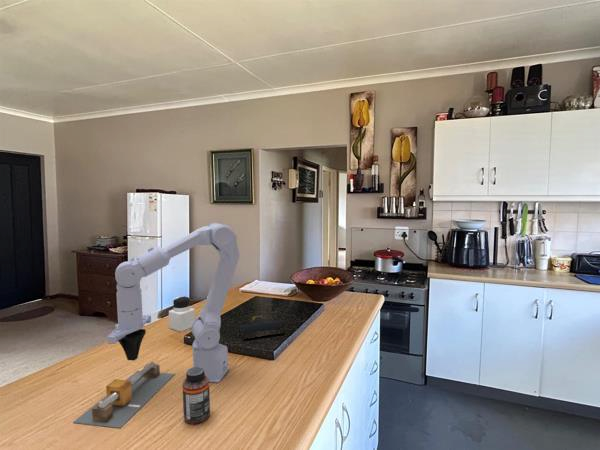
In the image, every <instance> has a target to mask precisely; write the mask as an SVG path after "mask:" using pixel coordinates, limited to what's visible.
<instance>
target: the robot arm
mask: <svg viewBox="0 0 600 450" xmlns="http://www.w3.org/2000/svg"><path fill="white" fill-rule="evenodd" d="M237 239H238V236H237V234H236V233H235V232H234V230H233V228H232V227H231V226H229V225H228V224H221V223H219V222H211V223H210V224H208V225H204V226H202V227H199V228H198V229H195V230H193V231H192V232H190V233H188V234H187V235H185V236H183V237H181V238H180V239H178V240H176V241H173V242H172V243H171V244H169V245H167V246H165V247H162V246H155V247H153V246H149V247H147V251H145V252H143V253H141V254H139V255H137V256H136V257H134V256H131V257H130V258H129V261H123V262H121V263H119V265H118V266H117V267H116V269H115V272H114V275H115V278H114V279H115V281H116V290H117V291H116V294H115V295H116V307H117V308H116V310H117V311H116V312H117V323H116V324H115V325H114V328H115V329H114V330H113V331H112V332H111V333H110V334H109V335H107V336H106V337H107V345H116V344H118V343H119V344H120V346H121V348H122V349H123V351H124V354H125V356H126V360H127V361H136V360H138V357H139V354H140V348H141V346H142V341H143V339H144V337H145V335H146V333H147V330H146V329H144V327H145V325H147V324H150V323H152V315H150V314H148V315H147V314H144V315H143V300H142V295H143V294H142V288H141V281H142V278H146V277H148V276H150V275H151V274H154V273H156V272H157V271H159V270H161V269H163V268H164V267H167V266H168V265H169V264H170V261H171V259H172V258H174V257H176V256H178V255H180V254H182V253H184V252H186V251H188V250H190V249H193V248H195V247H196V246H213V247H214V248H215V250H216V252H217V253H218V256H219V259H218V260H219V261H218V263H217V266H216V270H215V273H214V275H213V279H212V282H211V285H210V288H209V291H208V294H207V297H206V300H205V302H204V305H203V308H202V309H201V310H200V311H199V313H198V316H197V317H196V318H195V321H194V322H193V324H192V327H191V328H190V331H191V334H192V335H193V336H194V340H193V343H192V367H202V368H204V373H205V375H206V376H207V377H208V379H209V383H217V384H218V383H220V382H221V381H222V379H223V378H224V376H225V375H226V373H228V371H229V370H230V367H229V356H228V355H229V352H228V350H229V349H228V346H227V345H225V344H221V343H219V341H220V339H221V333H220V329H221V326H222V318H221V313H222V311H223V308H224V304H225V302H226V299H227V296H228V293H229V291H230V290H229V289H230V288H231V287H230V286H231V283H232V280H233V278H234V274H235V272H236V268H237V267H238V266H237V265H238V262H239V259H240V250H239V246H238V242H237Z"/></svg>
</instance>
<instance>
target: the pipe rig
mask: <svg viewBox="0 0 600 450" xmlns="http://www.w3.org/2000/svg"><path fill="white" fill-rule="evenodd" d="M174 376H176V374H175V373H171V372H161V370H160V364H159V363H158V364H156V363H155V362H153V361H150V363H147V364H145V365H144V366H143V367H142V369H141V370H136V371H135V372H134V373H133V374H131V375H130V376H129V377H128V378H126V379H125V380H127V381H131V395H132V399H130V400H129V401H128V402H127V403H126V404H125V405H124V406H122V405H112V403H113V402H114V401H116V400H117V399H118V398H119V397H120V392H119V391H115V392H114V393H112V394H111V395H110V396H109V397H107V394H106V395H105V396H104V397H103V398H101V399H100V400H99V401H97V402H96V403H95V404H94V405H93V406H91V407H90V408H88V409H87V410H86V411H85V412H84V413H83V414H81V415H80V416H79V417H77V418H76V419H75V420H74V421H73V422H72V423H73V424H80V425H88V426H97V427H105V428H114V429H122V428H123V427H124V426H125V424H127V423H128V422H129V421H130V420H131V418H133V417H134V416H135V415H136V413H138V412H139V411H140V410H141V409H142V408H143V407H144V406H145V405H146V404H147V403H148V402H149V401H150V400H151V399H152V398H153V397H154V396H155V395H157V393H158V392H159V391H160V390H161V389H162V388H163V387H164V386H165V385H167V383H168V382H169V381H170V380H171V379H172V378H173V377H174Z"/></svg>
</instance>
